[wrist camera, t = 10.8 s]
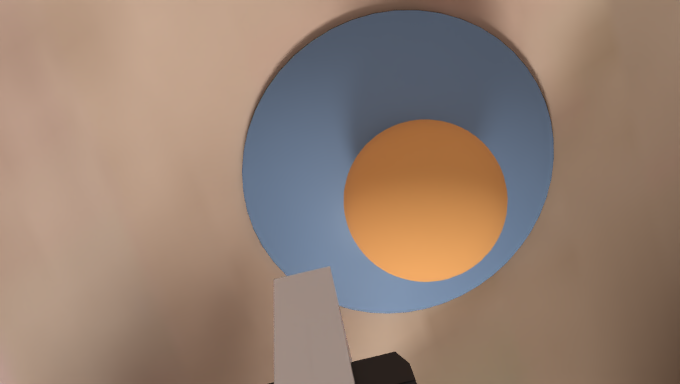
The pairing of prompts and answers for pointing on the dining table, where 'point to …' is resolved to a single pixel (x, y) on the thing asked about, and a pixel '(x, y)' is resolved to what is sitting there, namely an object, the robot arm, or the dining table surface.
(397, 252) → the ball
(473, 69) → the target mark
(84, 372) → the dining table surface
